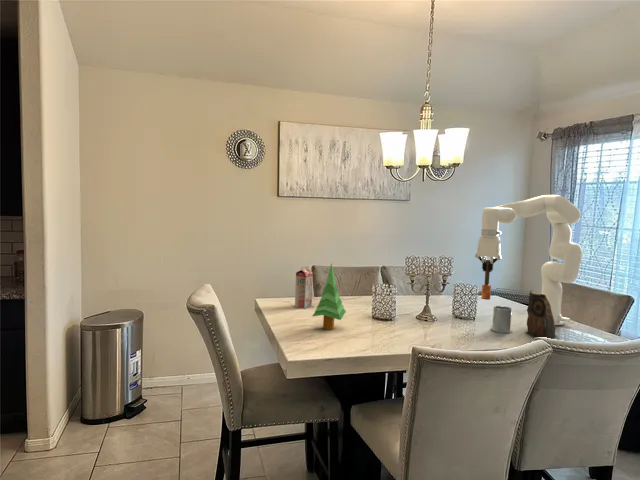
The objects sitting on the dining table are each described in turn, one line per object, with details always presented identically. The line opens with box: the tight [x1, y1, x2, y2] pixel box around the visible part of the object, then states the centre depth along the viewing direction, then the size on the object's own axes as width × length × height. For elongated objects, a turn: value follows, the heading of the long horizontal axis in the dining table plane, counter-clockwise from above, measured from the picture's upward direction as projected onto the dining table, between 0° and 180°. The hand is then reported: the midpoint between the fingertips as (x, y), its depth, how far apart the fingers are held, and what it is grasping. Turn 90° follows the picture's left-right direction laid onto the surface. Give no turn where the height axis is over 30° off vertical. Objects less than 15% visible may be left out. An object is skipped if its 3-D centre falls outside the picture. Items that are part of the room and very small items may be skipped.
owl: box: [526, 290, 556, 339], centre depth 207 cm, size 13×13×20 cm
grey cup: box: [491, 305, 513, 334], centre depth 213 cm, size 8×8×11 cm
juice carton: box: [294, 265, 314, 309], centre depth 247 cm, size 7×7×22 cm
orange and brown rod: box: [481, 259, 492, 301], centre depth 219 cm, size 4×4×19 cm
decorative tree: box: [312, 263, 347, 331], centre depth 204 cm, size 14×16×30 cm
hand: (487, 271), depth 218 cm, fingers closed on orange and brown rod, 2 cm apart
